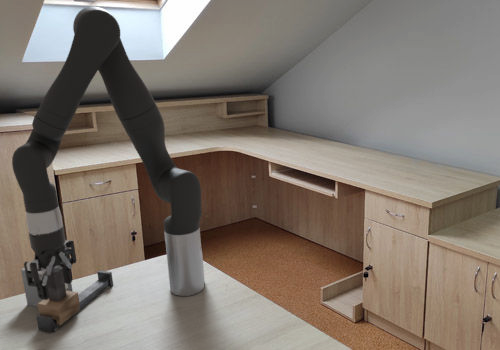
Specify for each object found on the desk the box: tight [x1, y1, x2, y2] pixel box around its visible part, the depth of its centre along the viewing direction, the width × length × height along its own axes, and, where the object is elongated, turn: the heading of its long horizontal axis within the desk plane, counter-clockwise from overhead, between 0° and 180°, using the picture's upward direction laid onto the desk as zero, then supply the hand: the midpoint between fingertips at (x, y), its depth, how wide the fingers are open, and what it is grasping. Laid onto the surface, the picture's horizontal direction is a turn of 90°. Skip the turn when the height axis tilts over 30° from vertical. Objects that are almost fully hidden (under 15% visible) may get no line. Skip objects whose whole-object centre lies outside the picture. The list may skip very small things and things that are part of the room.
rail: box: [35, 270, 114, 334], centre depth 122 cm, size 24×4×4 cm, turn 160°
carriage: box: [37, 269, 81, 326], centre depth 115 cm, size 7×6×12 cm
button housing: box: [20, 265, 74, 307], centre depth 125 cm, size 8×9×10 cm
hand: (56, 290), depth 114 cm, fingers open, 7 cm apart
